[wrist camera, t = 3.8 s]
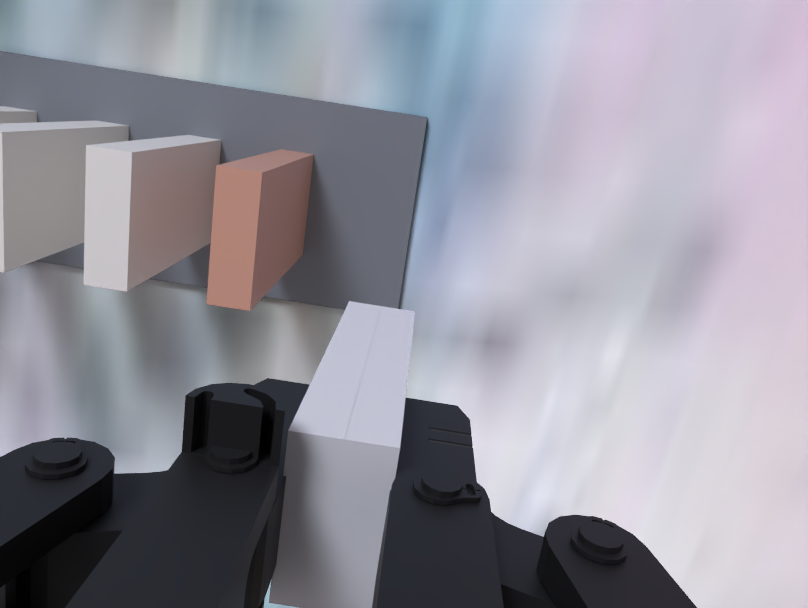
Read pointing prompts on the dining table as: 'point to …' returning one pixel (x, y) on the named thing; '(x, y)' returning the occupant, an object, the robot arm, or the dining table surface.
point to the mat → (249, 136)
